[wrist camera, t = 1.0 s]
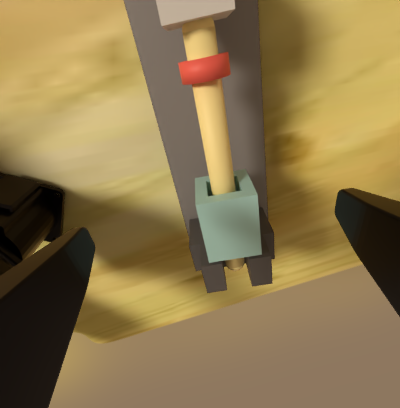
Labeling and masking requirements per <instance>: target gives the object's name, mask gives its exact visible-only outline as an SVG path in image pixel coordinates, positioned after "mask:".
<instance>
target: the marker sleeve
mask: <svg viewBox="0 0 400 408" xmlns="http://www.w3.org/2000/svg"><path fill="white" fill-rule="evenodd" d="M233 174H234V182H235V190H236V192H230V193H225V194H219V195H212V190H211V184H210V179H209V176H204V177H198V178H195V205H196V210H197V214H198V218H199V222H200V227H201V231H202V235H203V239H204V244H205V248H206V252H207V256H208V261H209V263H211V262H218V261H224V260H231V259H237V258H243V257H250V256H256V255H262V249H261V235H260V221H259V207H258V194H257V192H256V190H255V188H254V186H253V184H252V181H251V179H250V177H249V175H248V173H247V171H246V169H242V170H237V171H233Z"/></svg>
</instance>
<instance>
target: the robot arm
mask: <svg viewBox="0 0 400 408" xmlns="http://www.w3.org/2000/svg"><path fill="white" fill-rule="evenodd" d="M57 193H59V194H60V195H57ZM64 200H65V193H64V191H63V190H62V189H59V188H55V187H52V186H48V185H44V184H40V183H37V182H34V181H31V180H27V179H23V178H19V177H15V176H12V175H6V174H2V173H0V408H48V407H49V404H50V401H51V398H52V395H53V392H54V388H55V385H56V382H57V379H58V376H59V373H60V370H61V367H62V364H63V361H64V358H65V355H66V351H67V349H68V345H69V342H70V339H71V336H72V333H73V330H74V327H75V324H76V321H77V318H78V315H79V312H80V309H81V305H82V302H83V299H84V296H85V293H86V290H87V286H88V282H89V277H90V272H91V268H92V263H93V258H94V253H95V244H94V242H93V240H92V238H91V236H90V234H89V232H88V230H87V229H86V228H85V227H77V228H73V229H71V230H69V231H68V232H66V233H65V234H63V235H62V228H63V214H64ZM335 215H336V217H337V219H338V221H339V223H340V225H341V227H342V229H343V231H344V233H345V234H346V236H347V238H348V240H349V242H350V244H351V246H352V247H353V249H354V251H355V253H356V254H357V256H358V257H359V259H360V260H361V262H362V263H363V264H364V266H365V267H366V269H367V270H368V272H369V273H370V275H371V276H372V277H373V279H374V280H375V282H376V283H377V285H378V286H379V287H380V289H381V291H382V292H383V293H384V295H385V296H386V298H387V299H388V301H389V302H390V304H391V305H392V306H393V308H394V309H395V311H396V312H397V314H398V315H399V316H400V202H399V201H396V200H392V199H389V198H385V197H382V196H379V195H375V194H372V193H368V192H365V191H361V190H358V189H355V188H348V189H341V190H340V191H339V192H338V195H337V200H336V206H335ZM56 238H57V239H56ZM43 240H44V241H49V242H51V243H49V244H48V245H46V246H45V247H43V248H42V249H40V250H39V251H37V252H36V253H34V252H35V250H36V249H37V248H38V247H39V245H40V244H41V243H42V242H43ZM33 253H34V254H33ZM32 254H33V255H32Z"/></svg>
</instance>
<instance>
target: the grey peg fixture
mask: <svg viewBox="0 0 400 408" xmlns="http://www.w3.org/2000/svg"><path fill="white" fill-rule="evenodd" d="M124 3H125V7H126V10H127V14H128V18H129V21H130V25H131V28H132V32H133V36H134V39H135V43H136V47H137V50H138V54H139V58H140V61H141V65H142V68H143V72H144V76H145V79H146V83H147V87H148V90H149V94H150V98H151V101H152V105H153V108H154V112H155V116H156V119H157V123H158V127H159V130H160V134H161V137H162V141H163V145H164V148H165V152H166V156H167V159H168V163H169V167H170V170H171V174H172V177H173V181H174V185H175V188H176V192H177V196H178V199H179V203H180V206H181V210H182V214H183V217H184V221H185V225H186V228H187V232H188V236H189V248H190V251H191V255H192V258H193V262H194V265H195V269H196V271H199V270H202V274H203V278H204V282H205V285H206V289H207V293H211V292H218V291H224V290H227V285H226V279H225V272H224V267H225V266H227V267H228V268H229V269H230V270H233V271H237V270H240V269H241V268H242V267H243V265H244V263H246V265H247V268H248V272H249V276H250V280H251V284H252V286H258V285H265V284H272V263H271V259H275V255H274V232H273V230H272V227H271V225H270V223H269V221H268V207H267V186H266V165H265V144H264V122H263V101H262V80H261V59H260V38H259V17H258V0H124ZM242 169H246V171H247V173H248V175H249V177H250V179H251V181H252V184H253V186H254V188H255V190H256V192H257V194H258V207H259V221H260V235H261V249H262V255H256V256H250V257H243V258H237V259H231V260H224V261H218V262H211V263H209V261H208V256H207V252H206V248H205V244H204V239H203V235H202V231H201V227H200V222H199V218H198V214H197V210H196V205H195V178H198V177H204V176H209V179H210V184H211V190H212V195H219V194H225V193H230V192H236V190H235V182H234V174H233V171H237V170H242Z"/></svg>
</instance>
